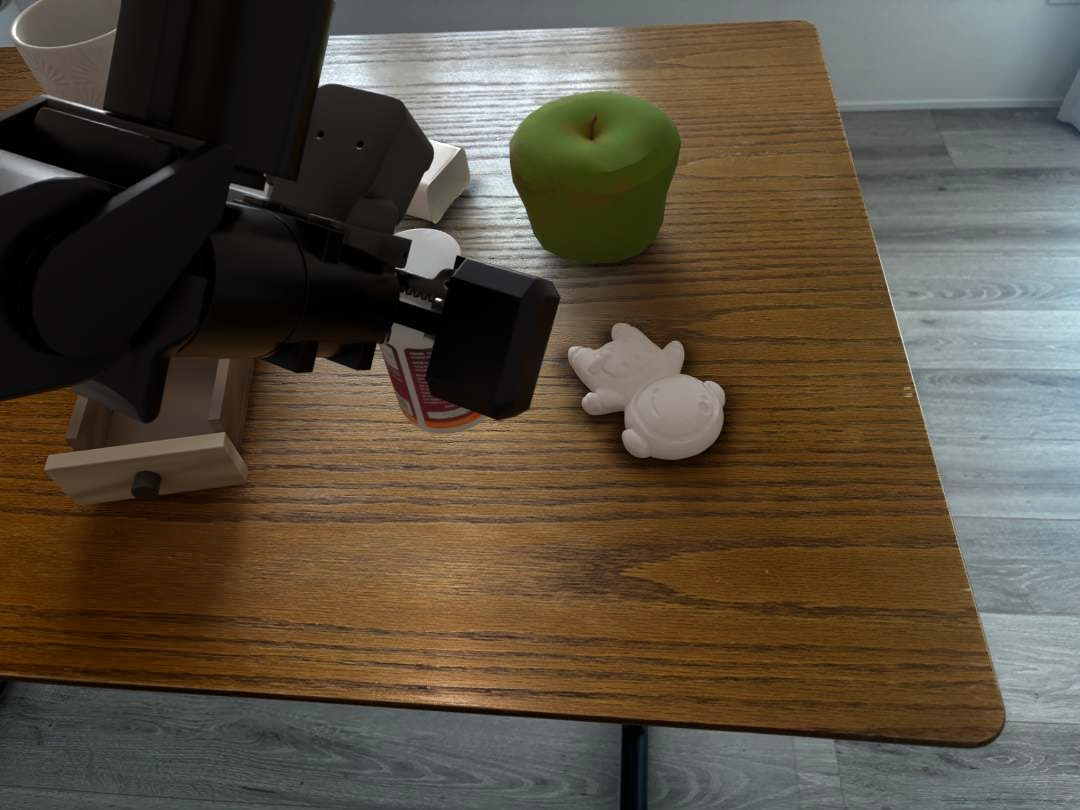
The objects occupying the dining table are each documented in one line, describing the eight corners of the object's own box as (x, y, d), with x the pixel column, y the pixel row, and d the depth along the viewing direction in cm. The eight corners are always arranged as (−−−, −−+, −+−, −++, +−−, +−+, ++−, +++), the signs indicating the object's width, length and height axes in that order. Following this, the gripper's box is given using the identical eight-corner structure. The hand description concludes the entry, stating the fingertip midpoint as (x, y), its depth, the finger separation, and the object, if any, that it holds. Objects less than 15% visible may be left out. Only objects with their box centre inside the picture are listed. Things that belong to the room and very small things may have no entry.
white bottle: (355, 151, 79) (343, 111, 76) (472, 183, 74) (465, 142, 71) (313, 192, 76) (298, 152, 72) (433, 228, 71) (423, 187, 68)
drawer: (244, 499, 54) (220, 462, 51) (73, 522, 54) (37, 486, 51) (272, 299, 66) (254, 258, 63) (131, 317, 66) (105, 278, 63)
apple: (661, 181, 72) (666, 58, 64) (685, 279, 65) (695, 154, 56) (517, 197, 73) (502, 76, 64) (524, 295, 65) (508, 174, 56)
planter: (76, 170, 81) (10, 64, 72) (66, 107, 88) (6, 4, 79) (203, 131, 83) (155, 23, 75) (183, 73, 90) (137, -31, 82)
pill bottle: (517, 372, 52) (497, 230, 43) (476, 449, 48) (444, 312, 40) (427, 349, 53) (390, 209, 45) (381, 422, 50) (331, 285, 41)
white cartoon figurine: (650, 318, 63) (651, 288, 60) (750, 428, 56) (755, 400, 53) (547, 366, 60) (544, 337, 58) (637, 487, 54) (638, 459, 51)
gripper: (517, 118, 27) (643, 197, 42) (108, 26, 34) (340, 122, 48) (433, 440, 29) (581, 410, 44) (61, 295, 36) (298, 311, 50)
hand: (443, 303), depth 46 cm, fingers closed on pill bottle, 6 cm apart
